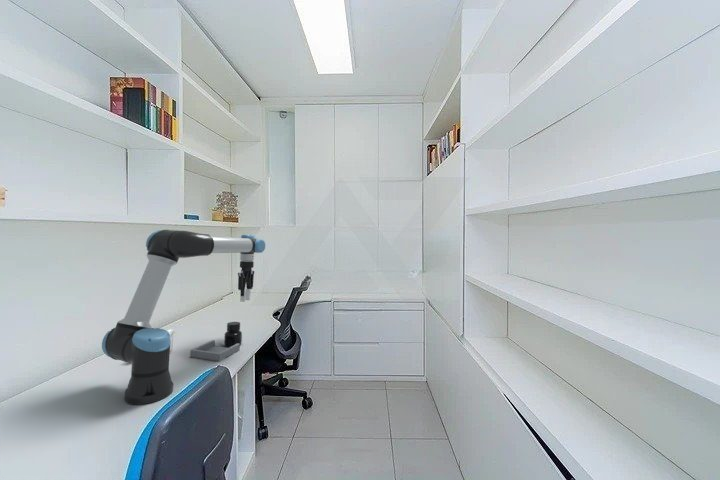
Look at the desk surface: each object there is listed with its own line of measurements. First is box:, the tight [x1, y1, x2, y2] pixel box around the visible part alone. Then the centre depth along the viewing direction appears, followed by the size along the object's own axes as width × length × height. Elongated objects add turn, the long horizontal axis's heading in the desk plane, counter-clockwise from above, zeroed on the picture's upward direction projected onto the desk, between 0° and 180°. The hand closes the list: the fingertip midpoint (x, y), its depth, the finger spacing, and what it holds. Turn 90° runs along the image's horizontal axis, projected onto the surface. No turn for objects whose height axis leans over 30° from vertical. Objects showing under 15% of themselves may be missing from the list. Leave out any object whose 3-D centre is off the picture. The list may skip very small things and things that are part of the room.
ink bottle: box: [223, 321, 243, 348], centre depth 171 cm, size 10×9×12 cm
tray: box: [189, 339, 241, 363], centre depth 157 cm, size 16×16×4 cm
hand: (245, 300), depth 181 cm, fingers open, 4 cm apart
